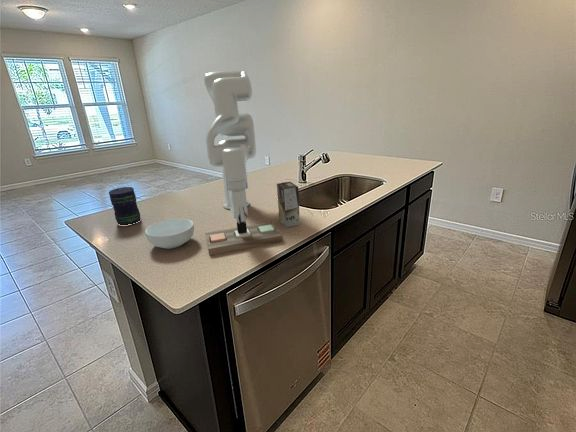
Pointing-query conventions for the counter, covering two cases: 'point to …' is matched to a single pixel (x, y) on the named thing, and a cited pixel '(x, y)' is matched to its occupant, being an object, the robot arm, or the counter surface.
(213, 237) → the terracotta tile
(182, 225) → the cereal bowl
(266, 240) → the tile frame
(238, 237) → the cream tile
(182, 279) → the counter surface
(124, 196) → the storage jar
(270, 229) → the sage tile
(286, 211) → the coffee box
